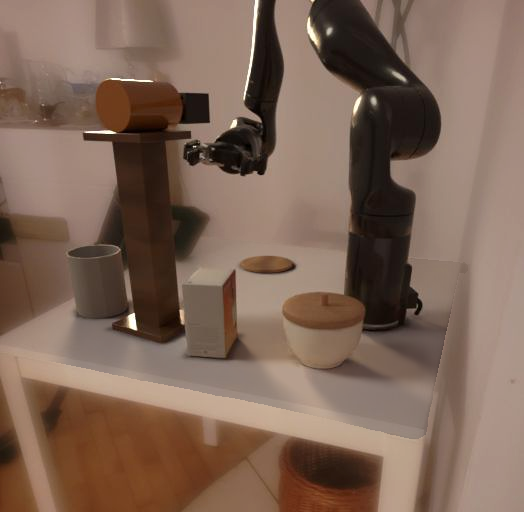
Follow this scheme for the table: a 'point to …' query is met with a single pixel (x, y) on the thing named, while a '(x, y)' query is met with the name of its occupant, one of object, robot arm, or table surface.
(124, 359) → the table surface
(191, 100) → the dark grey block
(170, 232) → the stand
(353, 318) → the trinket box
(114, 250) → the cup
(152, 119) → the bottle
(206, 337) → the small box
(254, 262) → the mat
